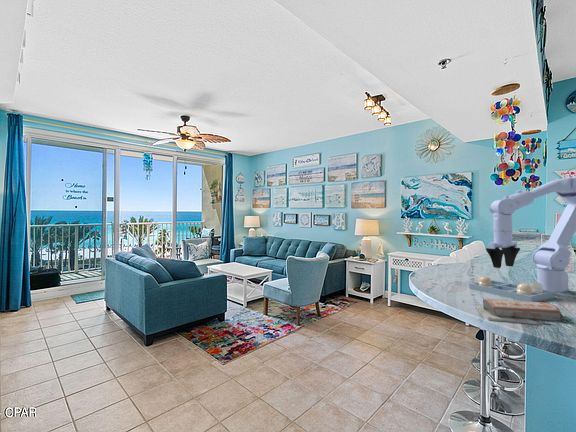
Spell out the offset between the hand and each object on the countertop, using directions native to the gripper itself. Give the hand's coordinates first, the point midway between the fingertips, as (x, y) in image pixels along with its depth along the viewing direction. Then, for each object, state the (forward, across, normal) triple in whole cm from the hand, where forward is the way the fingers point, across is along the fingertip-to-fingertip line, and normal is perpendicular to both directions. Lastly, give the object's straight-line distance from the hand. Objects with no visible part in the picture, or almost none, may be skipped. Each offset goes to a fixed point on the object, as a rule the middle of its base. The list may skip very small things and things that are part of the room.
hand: (503, 266), depth 107 cm
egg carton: (+9, +4, +4) cm, 11 cm away
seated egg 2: (+8, +1, +10) cm, 13 cm away
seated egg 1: (+8, +7, +10) cm, 15 cm away
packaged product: (+10, +26, +18) cm, 33 cm away
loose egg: (+8, +7, -2) cm, 11 cm away
